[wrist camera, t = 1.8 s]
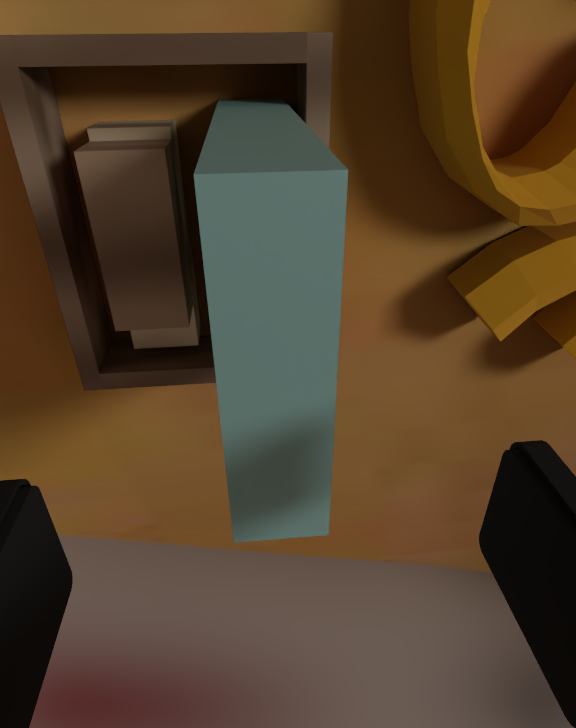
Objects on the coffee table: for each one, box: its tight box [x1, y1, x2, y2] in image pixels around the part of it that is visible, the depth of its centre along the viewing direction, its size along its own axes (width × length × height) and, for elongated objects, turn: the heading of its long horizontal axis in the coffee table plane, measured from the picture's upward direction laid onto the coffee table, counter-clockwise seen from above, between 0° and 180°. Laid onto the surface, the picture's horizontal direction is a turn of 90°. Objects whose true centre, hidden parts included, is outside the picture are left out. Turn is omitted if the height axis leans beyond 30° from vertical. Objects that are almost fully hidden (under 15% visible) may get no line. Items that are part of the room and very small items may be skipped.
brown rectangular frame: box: [0, 32, 333, 390], centre depth 24 cm, size 16×13×4 cm
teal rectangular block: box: [194, 99, 348, 543], centre depth 19 cm, size 11×3×16 cm, turn 1°
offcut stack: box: [74, 120, 201, 349], centre depth 24 cm, size 11×4×5 cm, turn 1°
